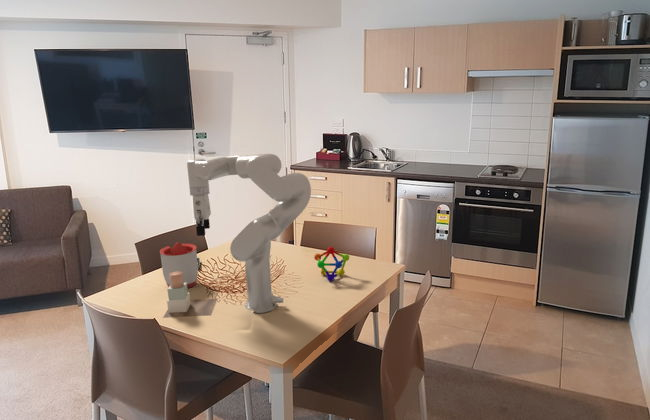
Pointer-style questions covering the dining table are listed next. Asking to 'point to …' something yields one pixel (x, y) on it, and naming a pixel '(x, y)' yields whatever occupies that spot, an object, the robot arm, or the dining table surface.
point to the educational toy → (337, 264)
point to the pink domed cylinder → (176, 279)
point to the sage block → (177, 292)
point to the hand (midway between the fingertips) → (203, 231)
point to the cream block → (178, 305)
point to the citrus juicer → (180, 262)
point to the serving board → (196, 309)
